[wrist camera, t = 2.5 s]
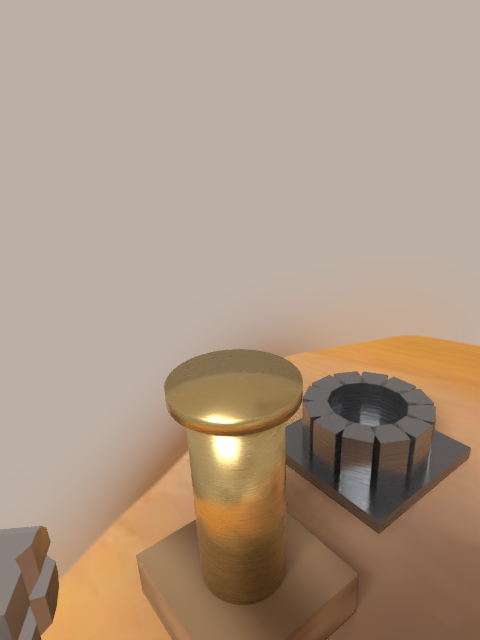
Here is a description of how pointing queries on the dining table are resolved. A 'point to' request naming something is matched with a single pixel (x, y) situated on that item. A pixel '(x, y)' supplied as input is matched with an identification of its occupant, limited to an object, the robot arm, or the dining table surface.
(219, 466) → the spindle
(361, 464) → the hub
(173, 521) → the dining table surface
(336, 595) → the stand
